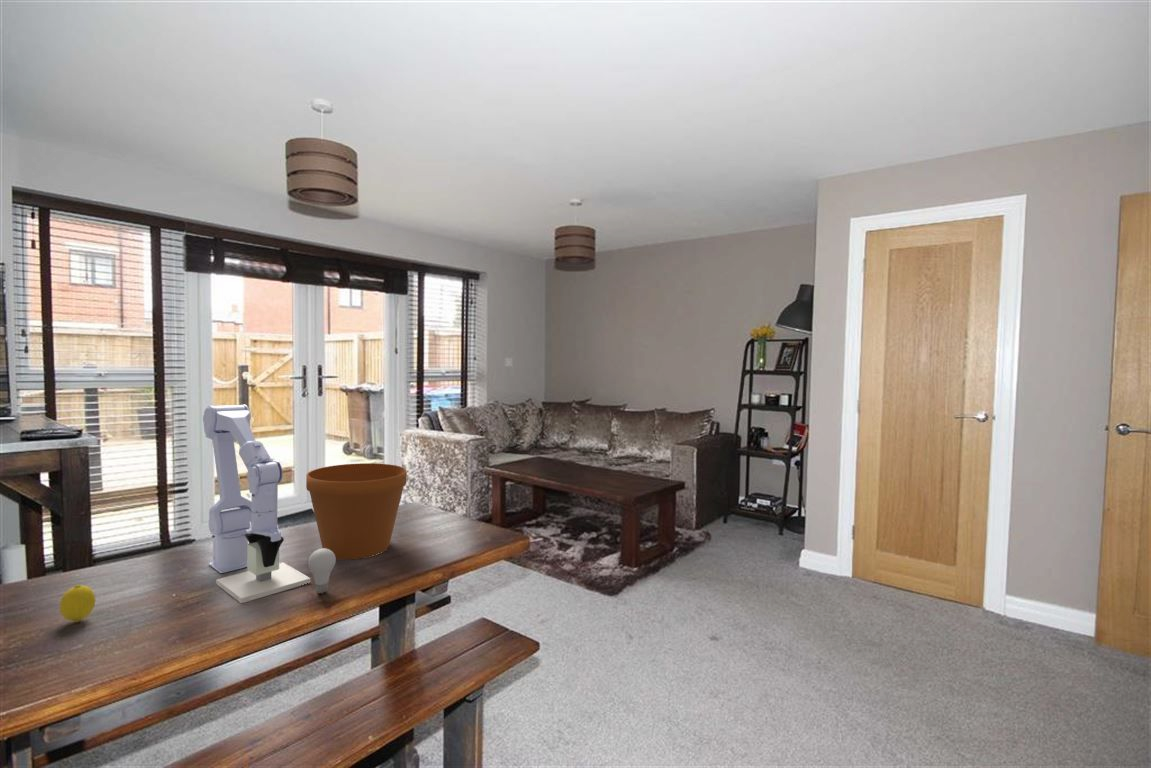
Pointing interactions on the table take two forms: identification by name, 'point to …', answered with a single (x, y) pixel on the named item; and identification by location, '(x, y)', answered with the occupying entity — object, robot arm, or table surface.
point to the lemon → (77, 603)
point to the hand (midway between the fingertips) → (264, 562)
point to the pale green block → (258, 560)
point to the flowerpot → (356, 506)
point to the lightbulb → (321, 567)
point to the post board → (262, 583)
